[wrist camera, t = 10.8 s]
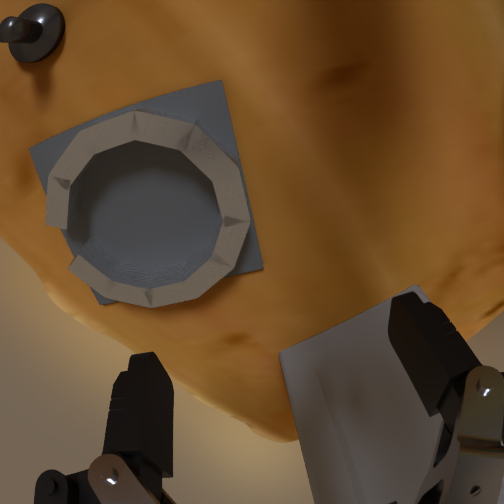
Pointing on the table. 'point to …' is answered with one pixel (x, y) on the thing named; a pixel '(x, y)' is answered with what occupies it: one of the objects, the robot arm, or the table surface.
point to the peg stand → (33, 32)
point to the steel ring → (170, 277)
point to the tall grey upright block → (360, 413)
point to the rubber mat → (151, 190)
